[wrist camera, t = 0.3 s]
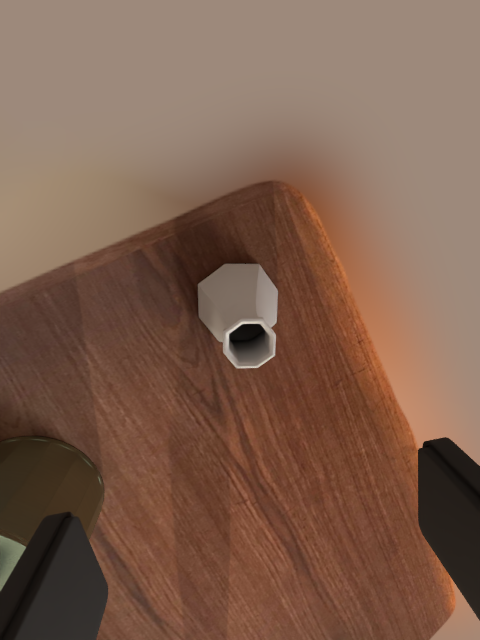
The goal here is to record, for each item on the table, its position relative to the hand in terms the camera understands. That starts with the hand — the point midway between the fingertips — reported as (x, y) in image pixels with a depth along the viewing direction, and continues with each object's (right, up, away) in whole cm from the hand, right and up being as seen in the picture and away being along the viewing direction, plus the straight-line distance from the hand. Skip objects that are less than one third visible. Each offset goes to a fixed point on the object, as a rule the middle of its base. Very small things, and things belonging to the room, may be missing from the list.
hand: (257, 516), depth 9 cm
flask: (-1, +7, +19) cm, 21 cm away
